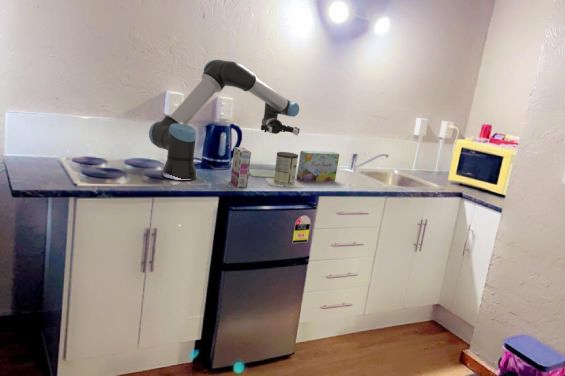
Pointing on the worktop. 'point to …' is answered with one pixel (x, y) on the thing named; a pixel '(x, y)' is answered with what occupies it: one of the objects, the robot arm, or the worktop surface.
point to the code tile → (271, 181)
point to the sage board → (262, 173)
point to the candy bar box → (240, 167)
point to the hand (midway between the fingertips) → (284, 131)
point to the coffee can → (285, 168)
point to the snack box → (317, 166)
